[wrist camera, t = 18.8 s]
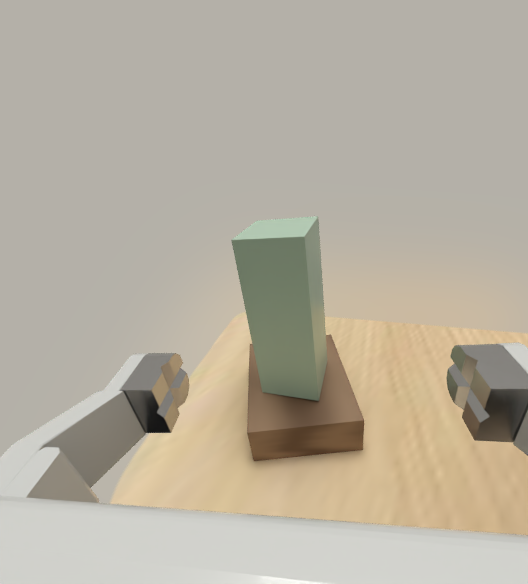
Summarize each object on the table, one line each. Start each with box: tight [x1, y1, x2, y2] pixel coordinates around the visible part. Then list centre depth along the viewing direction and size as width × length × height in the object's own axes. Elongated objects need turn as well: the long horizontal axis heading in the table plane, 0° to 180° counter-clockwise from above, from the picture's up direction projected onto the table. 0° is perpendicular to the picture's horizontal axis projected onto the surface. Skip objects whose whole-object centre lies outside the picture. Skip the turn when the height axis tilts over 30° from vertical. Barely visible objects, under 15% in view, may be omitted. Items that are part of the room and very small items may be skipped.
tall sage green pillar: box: [232, 217, 327, 401], centre depth 24 cm, size 5×5×14 cm
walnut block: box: [247, 335, 364, 461], centre depth 28 cm, size 9×11×4 cm
